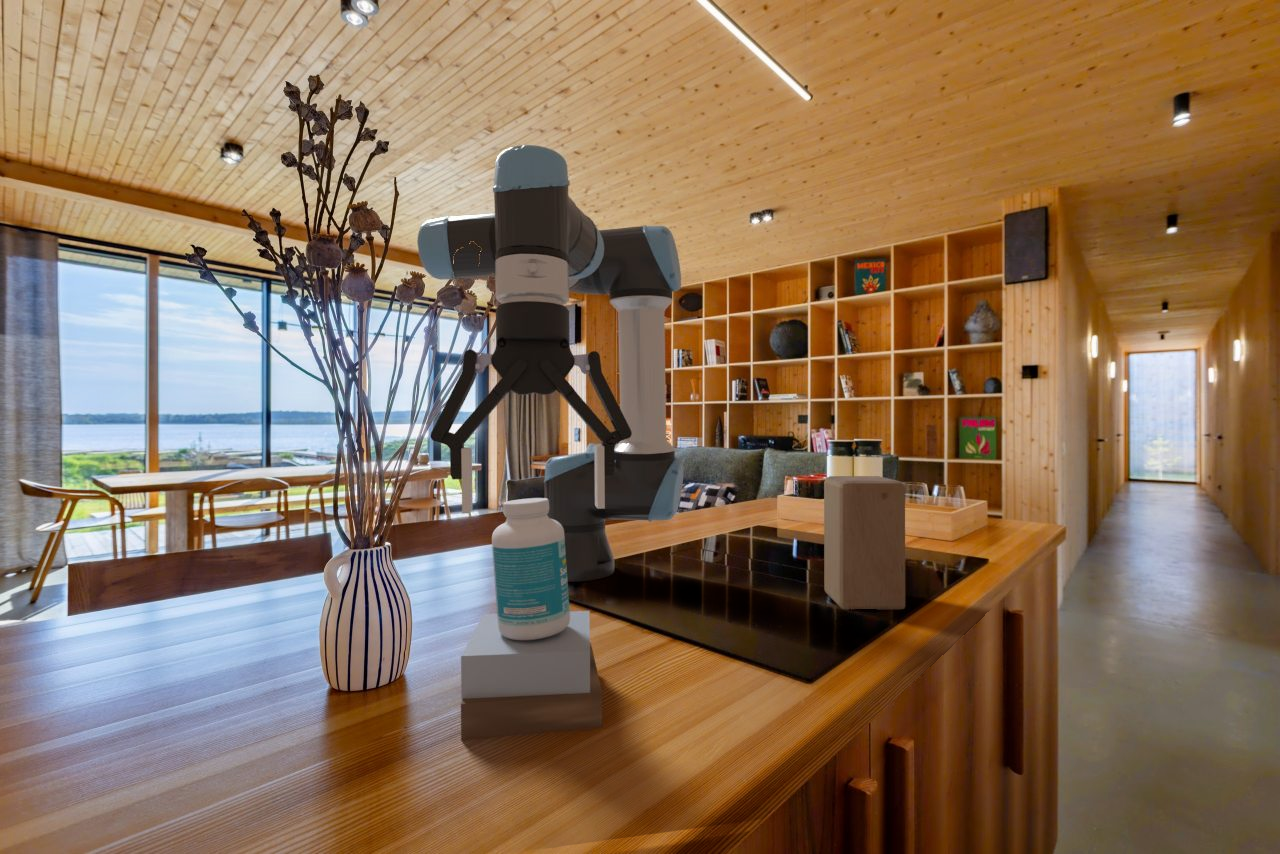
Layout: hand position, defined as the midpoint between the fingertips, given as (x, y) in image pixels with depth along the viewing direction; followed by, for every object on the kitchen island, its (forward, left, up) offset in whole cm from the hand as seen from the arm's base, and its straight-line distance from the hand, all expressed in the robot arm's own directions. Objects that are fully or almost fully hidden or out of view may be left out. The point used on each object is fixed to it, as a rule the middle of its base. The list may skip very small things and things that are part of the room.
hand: (534, 509), depth 61 cm
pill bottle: (0, 0, -13) cm, 13 cm away
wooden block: (-24, +52, -20) cm, 61 cm away
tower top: (0, 0, -17) cm, 17 cm away
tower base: (0, 0, -21) cm, 21 cm away
